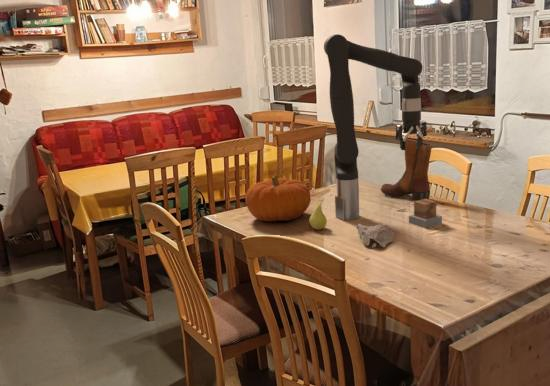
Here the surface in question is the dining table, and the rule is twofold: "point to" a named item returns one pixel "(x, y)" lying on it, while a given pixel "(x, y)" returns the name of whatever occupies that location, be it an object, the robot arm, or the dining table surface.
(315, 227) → the fruit
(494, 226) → the dining table surface
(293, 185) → the pumpkin
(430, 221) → the slate block
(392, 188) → the boot
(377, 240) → the stone
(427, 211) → the walnut cube
